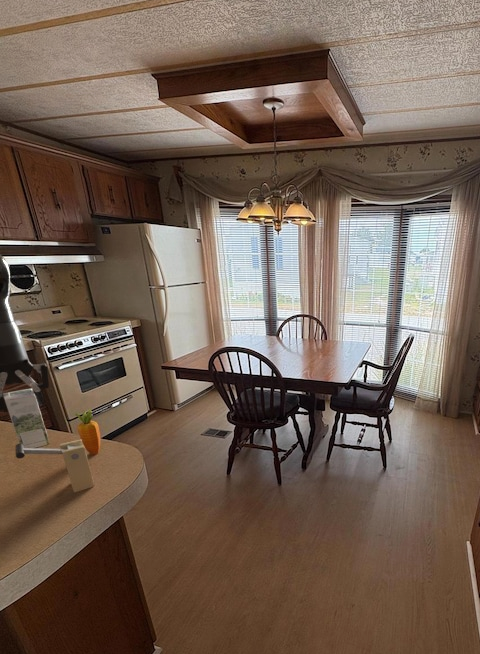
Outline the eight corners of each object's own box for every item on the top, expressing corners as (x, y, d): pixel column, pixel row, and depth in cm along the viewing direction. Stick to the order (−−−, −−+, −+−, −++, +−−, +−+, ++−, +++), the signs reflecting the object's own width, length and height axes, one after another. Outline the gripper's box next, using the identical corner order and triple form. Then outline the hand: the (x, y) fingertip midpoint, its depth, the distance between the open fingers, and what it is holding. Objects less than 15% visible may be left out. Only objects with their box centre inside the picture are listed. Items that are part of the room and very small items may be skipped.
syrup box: (47, 437, 93) (31, 387, 87) (50, 445, 89) (35, 393, 83) (19, 443, 89) (1, 392, 83) (22, 453, 85) (3, 399, 80)
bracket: (67, 501, 83) (52, 456, 78) (63, 487, 88) (50, 444, 83) (104, 489, 88) (93, 446, 83) (99, 476, 93) (88, 435, 88)
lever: (14, 460, 75) (16, 450, 74) (14, 451, 78) (16, 441, 78) (81, 460, 83) (83, 451, 83) (78, 452, 87) (80, 443, 87)
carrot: (81, 460, 100) (68, 413, 94) (94, 451, 105) (83, 406, 99) (96, 462, 99) (84, 415, 94) (109, 453, 104) (98, 408, 98)
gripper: (39, 335, 85) (57, 397, 92) (-42, 341, 77) (-16, 409, 83) (42, 340, 80) (60, 406, 87) (-45, 348, 71) (-17, 420, 78)
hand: (23, 407), depth 85 cm, fingers closed on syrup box, 6 cm apart
